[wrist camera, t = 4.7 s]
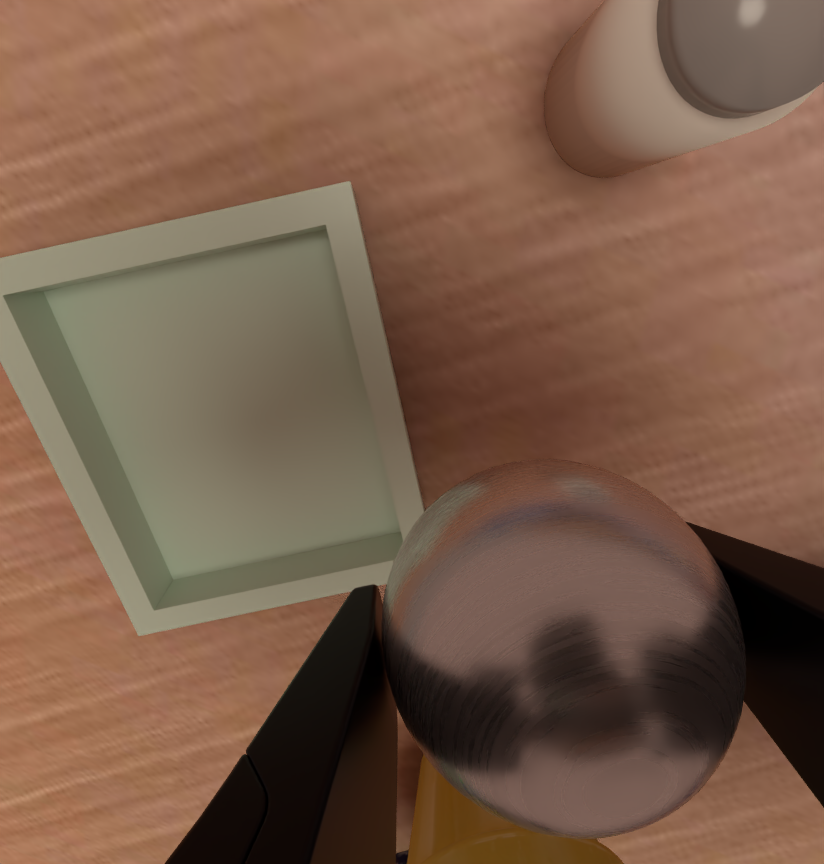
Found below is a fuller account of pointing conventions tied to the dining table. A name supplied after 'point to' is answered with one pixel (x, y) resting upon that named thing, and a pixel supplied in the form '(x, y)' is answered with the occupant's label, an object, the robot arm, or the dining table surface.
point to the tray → (218, 405)
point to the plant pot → (484, 833)
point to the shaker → (678, 78)
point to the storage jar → (402, 857)
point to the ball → (563, 649)
